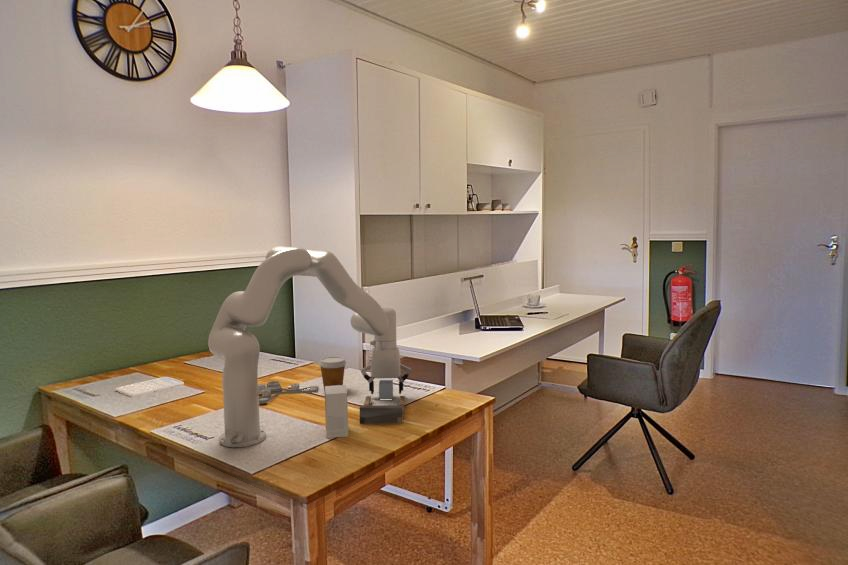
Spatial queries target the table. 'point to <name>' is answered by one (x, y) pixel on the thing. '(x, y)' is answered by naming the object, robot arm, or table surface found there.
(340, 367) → the disposable coffee cup
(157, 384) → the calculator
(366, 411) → the guide channel
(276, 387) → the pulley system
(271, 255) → the robot arm
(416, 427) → the table surface
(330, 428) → the small box
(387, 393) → the block
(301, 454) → the table surface
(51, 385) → the table surface
